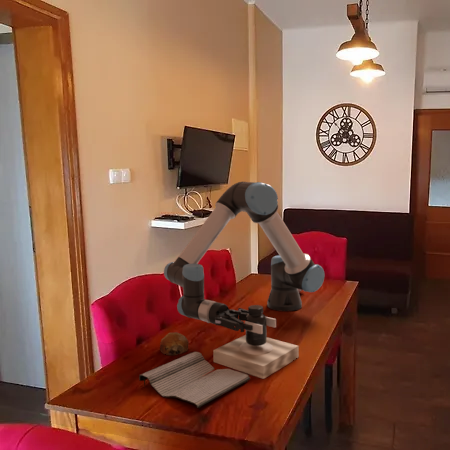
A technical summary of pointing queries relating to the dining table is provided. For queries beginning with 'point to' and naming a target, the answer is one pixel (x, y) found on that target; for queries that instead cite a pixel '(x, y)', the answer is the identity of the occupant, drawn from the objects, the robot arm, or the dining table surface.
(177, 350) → the bread roll
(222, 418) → the dining table surface
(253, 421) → the dining table surface
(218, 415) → the dining table surface
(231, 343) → the stand
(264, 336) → the supplement bottle
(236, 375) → the mat
